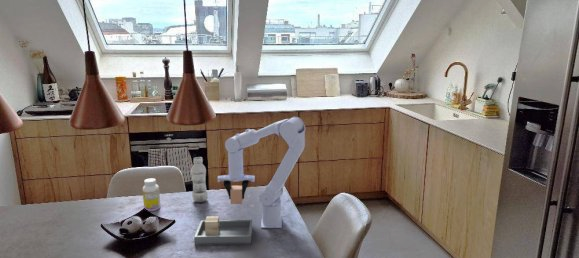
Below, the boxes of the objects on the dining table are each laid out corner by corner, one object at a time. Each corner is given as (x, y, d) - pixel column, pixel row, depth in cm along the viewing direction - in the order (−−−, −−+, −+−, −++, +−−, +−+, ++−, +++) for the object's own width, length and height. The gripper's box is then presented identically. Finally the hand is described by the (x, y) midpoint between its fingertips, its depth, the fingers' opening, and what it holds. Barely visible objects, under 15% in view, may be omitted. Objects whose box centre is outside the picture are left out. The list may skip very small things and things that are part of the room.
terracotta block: (232, 199, 166) (231, 185, 164) (243, 199, 166) (242, 185, 164) (230, 204, 161) (230, 189, 160) (242, 203, 161) (241, 189, 160)
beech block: (207, 231, 151) (206, 216, 150) (219, 231, 152) (218, 216, 150) (205, 237, 147) (204, 222, 145) (218, 237, 147) (217, 221, 146)
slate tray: (201, 228, 155) (200, 220, 154) (252, 228, 156) (252, 219, 155) (194, 245, 143) (194, 236, 142) (250, 245, 144) (250, 236, 143)
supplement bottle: (148, 204, 176) (146, 176, 173) (163, 205, 176) (160, 177, 173) (141, 211, 170) (138, 182, 167) (156, 212, 169) (154, 183, 166)
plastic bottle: (204, 204, 176) (202, 161, 172) (190, 203, 178) (187, 160, 173) (210, 198, 182) (208, 156, 178) (196, 197, 184) (193, 155, 179)
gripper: (215, 169, 156) (217, 202, 159) (253, 169, 156) (254, 202, 159) (218, 163, 163) (219, 195, 166) (254, 163, 163) (255, 194, 166)
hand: (236, 198), depth 163 cm, fingers closed on terracotta block, 4 cm apart
